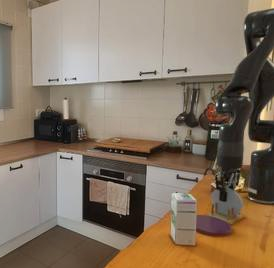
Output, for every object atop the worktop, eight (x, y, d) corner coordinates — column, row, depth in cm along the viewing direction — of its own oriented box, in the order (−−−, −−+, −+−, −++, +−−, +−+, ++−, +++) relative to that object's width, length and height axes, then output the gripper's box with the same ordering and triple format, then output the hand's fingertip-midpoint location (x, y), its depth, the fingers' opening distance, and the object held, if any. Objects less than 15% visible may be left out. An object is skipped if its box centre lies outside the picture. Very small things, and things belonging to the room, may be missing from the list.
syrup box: (196, 246, 81) (198, 200, 79) (174, 244, 83) (176, 199, 80) (189, 236, 87) (191, 193, 85) (169, 235, 88) (171, 192, 86)
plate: (211, 209, 103) (213, 184, 102) (242, 219, 95) (244, 191, 93) (209, 210, 103) (211, 184, 101) (240, 220, 94) (242, 192, 93)
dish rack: (220, 210, 105) (221, 197, 104) (243, 217, 98) (245, 204, 98) (206, 217, 99) (207, 204, 99) (230, 225, 93) (231, 211, 92)
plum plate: (198, 214, 102) (198, 211, 101) (238, 228, 91) (239, 225, 90) (178, 224, 95) (178, 221, 95) (219, 240, 84) (219, 237, 84)
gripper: (232, 158, 89) (228, 208, 91) (251, 152, 96) (247, 198, 98) (207, 154, 95) (205, 200, 97) (227, 149, 102) (224, 192, 105)
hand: (226, 199), depth 98 cm, fingers open, 4 cm apart
